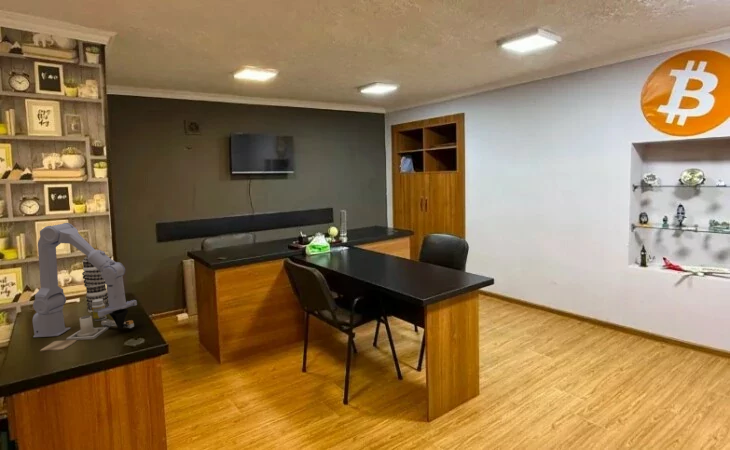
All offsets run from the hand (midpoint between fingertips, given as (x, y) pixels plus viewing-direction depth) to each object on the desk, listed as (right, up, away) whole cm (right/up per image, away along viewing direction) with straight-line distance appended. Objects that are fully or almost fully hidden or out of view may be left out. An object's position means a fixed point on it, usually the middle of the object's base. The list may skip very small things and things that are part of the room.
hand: (120, 328), depth 166 cm
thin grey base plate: (-9, -1, +5) cm, 11 cm away
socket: (-12, -2, -1) cm, 12 cm away
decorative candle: (-27, +1, +30) cm, 40 cm away
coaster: (-16, -4, -11) cm, 20 cm away
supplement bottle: (-18, 0, +16) cm, 24 cm away
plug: (-12, -2, -1) cm, 12 cm away
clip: (-3, 0, +3) cm, 4 cm away
